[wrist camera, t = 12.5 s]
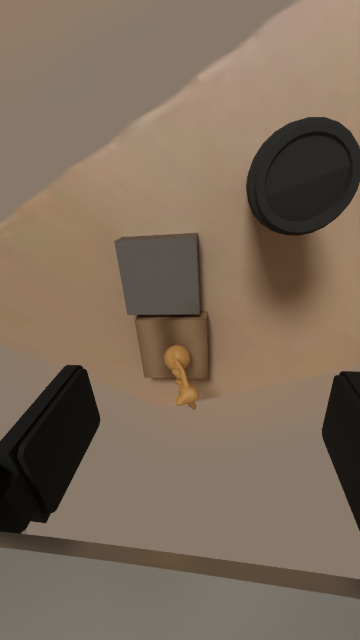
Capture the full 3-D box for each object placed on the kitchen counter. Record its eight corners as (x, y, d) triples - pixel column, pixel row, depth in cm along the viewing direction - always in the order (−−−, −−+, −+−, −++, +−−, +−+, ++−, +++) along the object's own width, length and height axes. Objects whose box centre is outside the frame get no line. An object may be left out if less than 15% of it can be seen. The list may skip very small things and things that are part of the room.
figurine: (159, 330, 41) (138, 381, 31) (197, 324, 40) (189, 374, 29) (174, 372, 45) (159, 431, 34) (209, 368, 43) (205, 428, 33)
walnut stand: (207, 311, 42) (206, 320, 39) (209, 368, 47) (208, 379, 44) (140, 312, 44) (134, 320, 41) (148, 366, 48) (144, 377, 46)
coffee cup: (314, 204, 33) (375, 217, 20) (247, 227, 36) (263, 253, 22) (302, 128, 30) (365, 85, 17) (230, 160, 32) (236, 143, 19)
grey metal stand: (197, 233, 37) (195, 236, 34) (200, 306, 42) (199, 314, 39) (121, 237, 38) (114, 241, 36) (133, 306, 43) (127, 314, 41)
